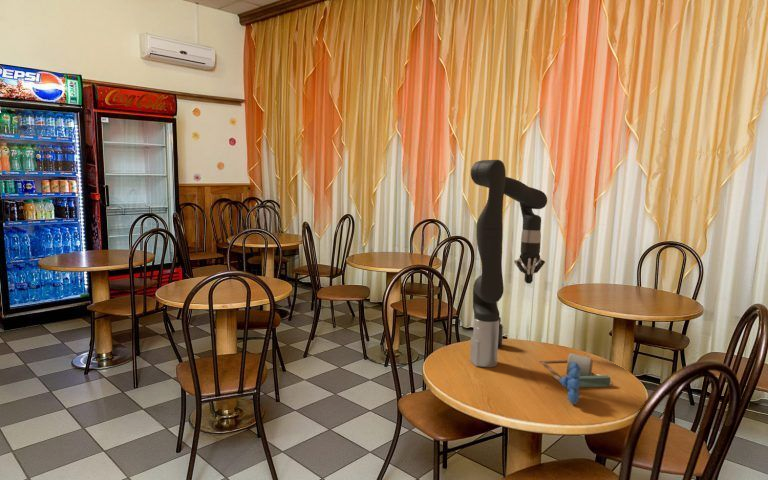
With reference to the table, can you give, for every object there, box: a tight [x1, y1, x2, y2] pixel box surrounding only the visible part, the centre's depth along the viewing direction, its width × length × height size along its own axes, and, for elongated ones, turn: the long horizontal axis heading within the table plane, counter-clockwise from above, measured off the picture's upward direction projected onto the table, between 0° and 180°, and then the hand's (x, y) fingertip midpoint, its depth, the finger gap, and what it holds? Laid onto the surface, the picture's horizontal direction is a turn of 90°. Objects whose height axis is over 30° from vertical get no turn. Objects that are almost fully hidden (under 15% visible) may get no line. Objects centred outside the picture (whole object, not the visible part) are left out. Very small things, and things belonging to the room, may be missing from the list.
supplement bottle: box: [498, 316, 504, 349], centre depth 203 cm, size 7×7×12 cm
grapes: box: [558, 362, 582, 405], centre depth 153 cm, size 12×7×12 cm, turn 160°
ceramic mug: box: [565, 352, 594, 376], centre depth 174 cm, size 11×8×8 cm
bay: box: [539, 359, 613, 388], centre depth 175 cm, size 23×17×3 cm
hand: (528, 283), depth 199 cm, fingers closed
